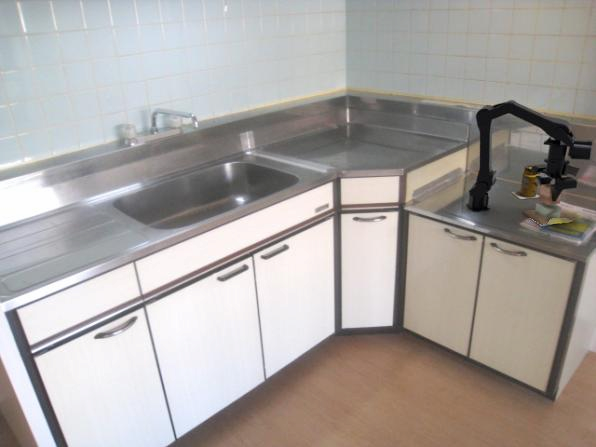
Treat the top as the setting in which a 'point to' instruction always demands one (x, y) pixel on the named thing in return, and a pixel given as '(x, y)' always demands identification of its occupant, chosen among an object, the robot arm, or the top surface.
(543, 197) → the top block
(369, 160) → the top surface
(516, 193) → the condiment
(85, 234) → the top surface
